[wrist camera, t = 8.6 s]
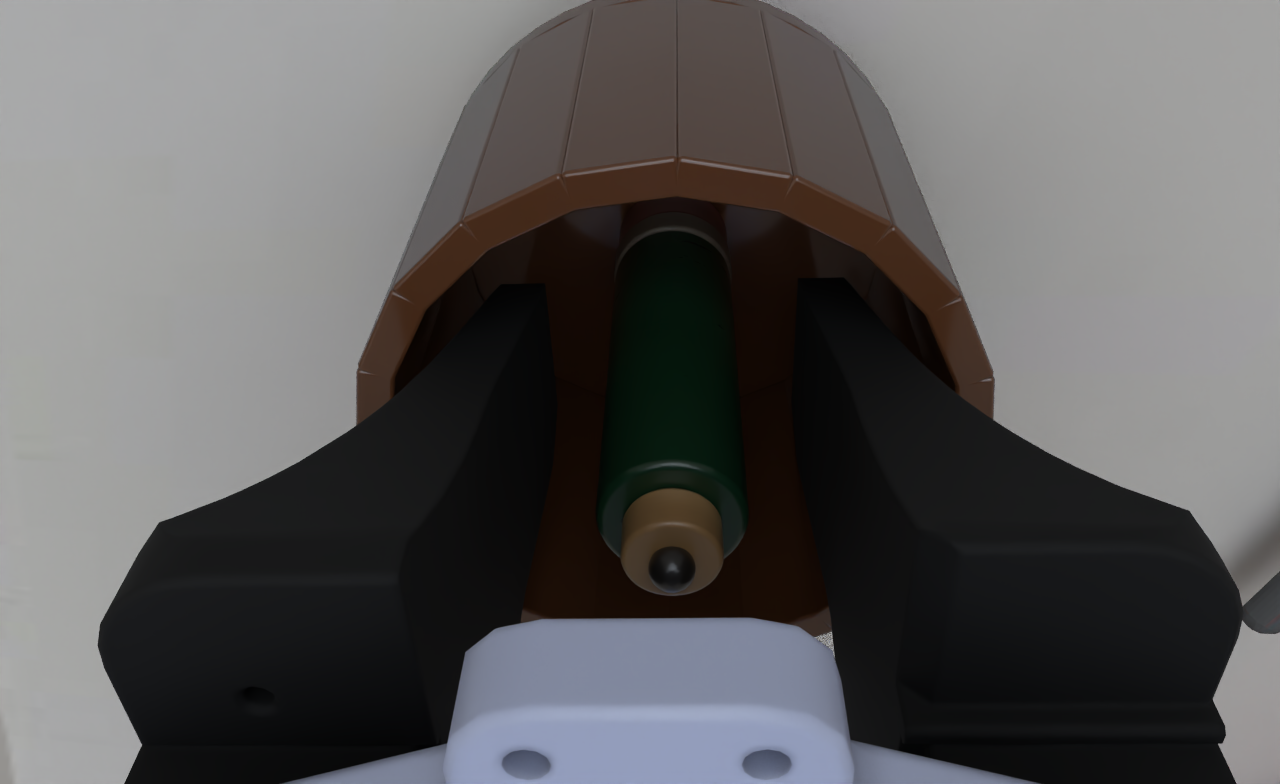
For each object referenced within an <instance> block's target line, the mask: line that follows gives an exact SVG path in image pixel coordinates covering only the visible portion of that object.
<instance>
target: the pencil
mask: <svg viewBox="0 0 1280 784" xmlns="http://www.w3.org/2000/svg"><path fill="white" fill-rule="evenodd" d="M614 281H615V293H614V305H613V316H612V328H611V340H610V351H609V363H608V374H607V386H606V398H605V409H604V421H603V432H602V444H601V456H600V467H599V479H598V491H597V502H596V522H597V527H598V529H599V532H600V534H601V536H602V538H603V539H604V541H605V543H606V544H607V546H608V547H609V548H610V549H611V550H612V551H613V552H614V553H615V554H616V555H617V556H618V557H620V559H621V564H622V567H623V569H624V571H625V573H626V574H627V576H628V577H629V578H630V580H631V581H633V582H634V583H635V584H636V585H638V586H639V587H641V588H642V589H644V590H647V591H649V592H652V593H655V594H660V595H667V596H677V595H685V594H690V593H693V592H696V591H698V590H700V589H703V588H704V587H706V586H707V585H709V584H710V583H711V582H712V581H713V580H714V579H715V578H716V577H717V575H718V574H719V572H720V570H721V568H722V565H723V562H724V559H725V558H726V557H727V556H728V555H729V554H731V553H732V552H733V551H734V549H735V548H736V547H737V546H738V544H739V543H740V541H741V540H742V538H743V536H744V534H745V532H746V530H747V526H748V521H749V508H748V495H747V483H746V470H745V458H744V445H743V433H742V420H741V407H740V395H739V382H738V370H737V357H736V345H735V332H734V320H733V307H732V295H731V282H732V269H731V257H730V252H729V249H728V244H727V232H726V227H725V224H724V221H723V219H722V217H721V215H720V213H719V212H718V211H717V210H716V208H715V207H714V206H713V205H712V204H711V203H709V202H707V201H700V200H694V199H687V198H681V197H672V198H664V199H657V200H649V201H642V202H637V203H636V204H635V205H634V206H633V207H632V208H631V209H630V210H629V211H628V213H627V214H626V216H625V218H624V220H623V222H622V225H621V228H620V235H619V247H618V250H617V253H616V259H615V270H614Z"/></svg>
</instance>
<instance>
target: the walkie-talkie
mask: <svg viewBox="0 0 1280 784" xmlns="http://www.w3.org/2000/svg"><path fill="white" fill-rule="evenodd" d="M1242 608H1243V618H1242V620H1243V621H1244V623H1245V624H1246V625H1247V626H1248V627H1249V628H1251V629H1252V630H1254V631H1256V632H1259V633H1264V634H1276V633H1279V632H1280V572H1279V573H1278V574H1277V575H1275V576H1274V577H1273V578H1272V579H1271V580H1270V581H1269V582H1268V583H1267V584H1266V585H1265V586H1264V587H1263V588H1262V589H1261V590H1260V591H1259V592H1257V593H1256V594H1255V595H1254V596H1253V597H1252V598H1251V599H1250V600H1249V601H1248V602H1247V603H1246V604H1245V605H1244V606H1243V607H1242Z"/></svg>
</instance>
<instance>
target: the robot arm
mask: <svg viewBox="0 0 1280 784" xmlns="http://www.w3.org/2000/svg"><path fill="white" fill-rule="evenodd" d="M557 407H558V403H557V394H556V384H555V374H554V364H553V355H552V345H551V335H550V326H549V316H548V306H547V297H546V287H545V283H539V284H501V285H500V286H499V287H498V288H497V289H496V290H495V291H494V292H493V293H492V294H491V295H490V296H489V297H488V298H487V300H486V301H485V302H484V303H483V304H482V305H481V307H480V308H479V309H478V310H477V311H476V313H475V314H474V315H473V316H472V317H471V318H470V320H469V321H468V322H467V323H466V324H465V325H464V326H463V328H462V329H461V330H460V331H459V332H458V333H457V334H456V335H455V337H454V338H453V339H452V340H451V341H450V342H449V343H448V344H447V345H446V346H445V347H444V348H443V349H442V351H441V352H440V353H439V354H438V355H437V356H436V357H435V358H434V359H433V360H432V361H431V362H430V363H429V364H428V365H427V366H426V367H425V368H424V369H423V370H422V371H421V372H420V373H419V374H418V375H417V376H416V377H415V378H414V379H413V380H412V381H410V382H409V383H408V384H407V385H406V386H405V387H404V388H403V389H402V390H401V391H400V392H399V393H397V394H396V395H395V396H394V397H393V398H392V399H390V400H389V401H388V402H387V403H385V404H384V405H383V406H382V407H381V408H379V409H378V410H377V411H375V412H374V413H373V414H371V415H370V416H369V417H367V418H366V419H365V420H363V421H362V422H361V423H359V424H358V425H357V426H355V427H354V428H352V429H351V430H349V431H348V432H347V433H345V434H343V435H342V436H340V437H339V438H337V439H335V440H334V441H332V442H330V443H329V444H327V445H326V446H324V447H322V448H321V449H319V450H318V451H316V452H314V453H313V454H311V455H309V456H308V457H306V458H305V459H303V460H301V461H300V462H298V463H296V464H294V465H292V466H290V467H289V468H287V469H285V470H283V471H281V472H279V473H277V474H275V475H273V476H271V477H269V478H267V479H265V480H263V481H261V482H259V483H257V484H255V485H252V486H250V487H248V488H246V489H244V490H242V491H240V492H237V493H235V494H233V495H230V496H228V497H226V498H223V499H221V500H218V501H216V502H213V503H210V504H208V505H205V506H202V507H200V508H197V509H195V510H192V511H189V512H187V513H184V514H182V515H179V516H176V517H174V518H171V519H168V520H165V521H162V522H159V524H158V525H157V527H156V528H155V530H154V531H153V533H152V534H151V536H150V537H149V539H148V540H147V542H146V543H145V545H144V546H143V548H142V549H141V551H140V552H139V554H138V556H137V558H136V559H135V561H134V563H133V565H132V567H131V568H130V570H129V572H128V574H127V576H126V578H125V579H124V581H123V583H122V585H121V587H120V589H119V590H118V592H117V594H116V596H115V598H114V600H113V601H112V603H111V605H110V607H109V609H108V611H107V612H106V614H105V616H104V618H103V620H102V622H101V623H100V631H99V639H98V648H99V652H100V655H101V658H102V662H103V665H104V668H105V670H106V672H107V674H108V677H109V679H110V681H111V683H112V685H113V687H114V689H115V691H116V693H117V695H118V697H119V699H120V701H121V703H122V705H123V707H124V709H125V711H126V713H127V715H128V717H129V719H130V721H131V723H132V725H133V727H134V729H135V731H136V733H137V735H138V737H139V739H140V741H141V743H142V747H141V749H140V751H139V753H138V755H137V757H136V760H135V762H134V764H133V766H132V768H131V770H130V773H129V775H128V777H127V779H126V781H125V783H124V784H1236V782H1235V780H1234V777H1233V775H1232V773H1231V771H1230V769H1229V767H1228V765H1227V763H1226V760H1225V758H1224V756H1223V754H1222V752H1221V750H1220V748H1219V745H1218V743H1223V741H1224V738H1225V736H1226V732H1225V725H1224V723H1223V721H1222V719H1221V717H1220V715H1219V713H1218V711H1217V708H1216V706H1215V704H1214V702H1213V700H1212V699H1213V697H1214V694H1215V692H1216V689H1217V687H1218V684H1219V682H1220V680H1221V677H1222V675H1223V672H1224V670H1225V668H1226V665H1227V663H1228V660H1229V658H1230V656H1231V653H1232V651H1233V648H1234V646H1235V644H1236V641H1237V639H1238V636H1239V632H1240V627H1241V622H1242V618H1243V608H1242V603H1241V598H1240V593H1239V590H1238V588H1237V586H1236V584H1235V582H1234V581H1233V579H1232V577H1231V575H1230V573H1229V572H1228V570H1227V568H1226V566H1225V564H1224V562H1223V561H1222V559H1221V557H1220V556H1219V554H1218V552H1217V551H1216V549H1215V547H1214V546H1213V544H1212V542H1211V541H1210V540H1209V538H1208V537H1207V535H1206V534H1205V533H1204V531H1203V530H1202V528H1201V527H1200V526H1199V524H1198V523H1197V522H1196V520H1195V519H1194V517H1193V516H1192V514H1191V513H1190V511H1188V510H1185V509H1182V508H1179V507H1176V506H1174V505H1171V504H1168V503H1165V502H1162V501H1159V500H1157V499H1154V498H1151V497H1148V496H1145V495H1142V494H1140V493H1137V492H1134V491H1131V490H1128V489H1126V488H1123V487H1120V486H1118V485H1115V484H1113V483H1111V482H1108V481H1106V480H1104V479H1102V478H1099V477H1097V476H1095V475H1093V474H1090V473H1088V472H1086V471H1084V470H1081V469H1079V468H1077V467H1075V466H1073V465H1071V464H1069V463H1067V462H1065V461H1063V460H1061V459H1059V458H1057V457H1055V456H1053V455H1051V454H1049V453H1047V452H1045V451H1044V450H1042V449H1040V448H1038V447H1037V446H1035V445H1033V444H1031V443H1030V442H1028V441H1026V440H1024V439H1023V438H1021V437H1019V436H1017V435H1016V434H1014V433H1013V432H1011V431H1009V430H1008V429H1006V428H1005V427H1003V426H1001V425H1000V424H998V423H997V422H995V421H994V420H992V419H991V418H990V417H988V416H987V415H985V414H984V413H983V412H981V411H980V410H978V409H977V408H976V407H974V406H973V405H971V404H970V403H969V402H967V401H966V400H964V399H963V398H962V397H961V396H959V395H958V394H957V393H956V392H954V391H953V390H952V389H951V388H949V387H948V386H947V385H946V384H945V383H944V382H942V381H941V380H940V379H939V378H938V377H937V376H936V375H934V374H933V373H932V372H931V371H930V370H929V369H928V368H926V367H925V366H924V365H923V364H922V363H921V362H920V361H919V360H918V359H917V358H916V357H915V356H914V355H913V354H912V353H911V352H910V351H909V350H908V349H907V348H906V347H905V346H904V344H903V343H902V342H901V341H900V340H899V339H898V338H897V337H896V336H895V335H894V334H893V333H892V332H891V331H890V330H889V329H888V327H887V326H886V325H885V324H884V323H883V322H882V321H881V320H880V318H879V317H878V316H877V315H876V314H875V313H874V312H873V310H872V309H871V308H870V307H869V306H868V304H867V303H866V302H865V301H864V300H863V298H862V297H861V296H860V295H859V294H858V292H857V291H856V290H855V289H854V288H853V286H852V285H851V284H850V283H849V282H848V281H847V280H846V279H845V278H844V277H838V278H798V288H797V307H796V326H795V345H794V364H793V383H792V413H793V425H794V436H795V447H796V457H797V464H798V469H799V473H800V478H801V483H802V487H803V491H804V496H805V500H806V505H807V509H808V514H809V518H810V522H811V527H812V531H813V536H814V540H815V544H816V549H817V553H818V557H819V562H820V566H821V570H822V575H823V579H824V584H825V588H826V594H827V599H828V605H829V611H830V617H831V625H832V634H833V643H834V652H835V658H834V655H833V652H832V650H831V649H830V648H828V647H827V646H826V645H824V644H823V643H821V642H820V641H818V640H817V639H816V638H814V637H813V636H811V635H810V634H809V633H807V632H806V631H804V630H803V629H801V628H800V627H798V626H794V625H790V624H784V623H778V622H773V621H767V620H761V619H756V618H605V619H540V620H535V621H530V622H525V623H521V615H522V610H523V604H524V598H525V592H526V587H527V582H528V578H529V573H530V569H531V564H532V560H533V555H534V550H535V546H536V541H537V537H538V532H539V528H540V523H541V519H542V514H543V510H544V505H545V500H546V496H547V491H548V486H549V482H550V477H551V472H552V467H553V459H554V447H555V435H556V421H557ZM835 661H836V662H835Z"/></svg>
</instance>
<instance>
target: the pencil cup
mask: <svg viewBox="0 0 1280 784" xmlns="http://www.w3.org/2000/svg"><path fill="white" fill-rule="evenodd" d="M672 197H681V198H687V199H694V200H700V201H707V202H709V203H711V204H712V205H713V206H714V207H715V208H716V210H717V211H718V212H719V213H720V215H721V217H722V219H723V221H724V224H725V227H726V232H727V244H728V249H729V252H730V257H731V269H732V282H731V295H732V307H733V320H734V332H735V345H736V357H737V370H738V382H739V395H740V407H741V420H742V433H743V445H744V458H745V470H746V483H747V495H748V508H749V521H748V526H747V530H746V532H745V534H744V536H743V538H742V540H741V541H740V543H739V544H738V546H737V547H736V548H735V549H734V551H733V552H732V553H731V554H729V555H728V556H727V557H726V558H725V559H724V562H723V565H722V568H721V570H720V572H719V574H718V575H717V577H716V578H715V579H714V580H713V581H712V582H711V583H710V584H709V585H707V586H706V587H704V588H703V589H700V590H698V591H696V592H693V593H690V594H685V595H677V596H667V595H660V594H655V593H652V592H649V591H647V590H644V589H642V588H641V587H639V586H638V585H636V584H635V583H634V582H633V581H631V580H630V578H629V577H628V576H627V574H626V573H625V571H624V569H623V567H622V564H621V559H620V557H618V556H617V555H616V554H615V553H614V552H613V551H612V550H611V549H610V548H609V547H608V546H607V544H606V543H605V541H604V539H603V538H602V536H601V534H600V532H599V529H598V527H597V522H596V502H597V491H598V479H599V467H600V456H601V444H602V432H603V421H604V409H605V398H606V386H607V374H608V363H609V351H610V340H611V328H612V316H613V305H614V293H615V281H614V270H615V259H616V253H617V250H618V247H619V235H620V228H621V225H622V222H623V220H624V218H625V216H626V214H627V213H628V211H629V210H630V209H631V208H632V207H633V206H634V205H635V204H636V203H637V202H642V201H649V200H657V199H664V198H672ZM838 277H844V278H845V279H846V280H847V281H848V282H849V283H850V284H851V285H852V286H853V288H854V289H855V290H856V291H857V292H858V294H859V295H860V296H861V297H862V298H863V300H864V301H865V302H866V303H867V304H868V306H869V307H870V308H871V309H872V310H873V312H874V313H875V314H876V315H877V316H878V317H879V318H880V320H881V321H882V322H883V323H884V324H885V325H886V326H887V327H888V329H889V330H890V331H891V332H892V333H893V334H894V335H895V336H896V337H897V338H898V339H899V340H900V341H901V342H902V343H903V344H904V346H905V347H906V348H907V349H908V350H909V351H910V352H911V353H912V354H913V355H914V356H915V357H916V358H917V359H918V360H919V361H920V362H921V363H922V364H923V365H924V366H925V367H926V368H928V369H929V370H930V371H931V372H932V373H933V374H934V375H936V376H937V377H938V378H939V379H940V380H941V381H942V382H944V383H945V384H946V385H947V386H948V387H949V388H951V389H952V390H953V391H954V392H956V393H957V394H958V395H959V396H961V397H962V398H963V399H964V400H966V401H967V402H969V403H970V404H971V405H973V406H974V407H976V408H977V409H978V410H980V411H981V412H983V413H984V414H985V415H987V416H988V417H990V418H991V419H992V420H993V417H994V387H995V379H994V376H993V369H992V367H991V364H990V362H989V359H988V357H987V354H986V352H985V349H984V346H983V344H982V341H981V339H980V336H979V334H978V331H977V329H976V326H975V324H974V321H973V319H972V316H971V314H970V311H969V309H968V306H967V304H966V301H965V299H964V296H963V294H962V291H961V289H960V286H959V284H958V281H957V279H956V276H955V274H954V271H953V269H952V267H951V264H950V262H949V259H948V257H947V254H946V252H945V249H944V247H943V244H942V242H941V240H940V237H939V235H938V232H937V230H936V227H935V225H934V222H933V220H932V217H931V215H930V213H929V210H928V208H927V205H926V203H925V200H924V198H923V195H922V193H921V190H920V188H919V186H918V183H917V181H916V178H915V176H914V173H913V171H912V168H911V166H910V163H909V161H908V158H907V156H906V154H905V151H904V149H903V146H902V144H901V141H900V139H899V136H898V134H897V131H896V129H895V127H894V124H893V122H892V119H891V117H890V114H889V112H888V109H887V108H886V107H885V105H884V103H883V102H882V100H881V99H880V97H879V96H878V94H877V93H876V91H875V89H874V88H873V86H872V85H871V83H870V82H869V80H868V79H867V77H866V76H865V75H864V74H863V73H862V71H861V70H860V69H859V68H858V67H857V66H856V65H855V63H854V62H853V61H852V60H851V59H850V58H849V57H848V55H847V54H846V53H844V52H843V51H842V50H841V49H840V48H839V47H837V46H836V45H835V44H834V43H833V42H831V41H830V40H829V39H828V38H827V37H826V36H824V35H823V34H822V33H821V32H819V31H817V30H816V29H814V28H813V27H811V26H810V25H808V24H806V23H805V22H803V21H802V20H800V19H798V18H797V17H795V16H794V15H791V14H789V13H787V12H785V11H782V10H780V9H778V8H776V7H774V6H771V5H769V4H767V3H765V2H762V1H759V0H592V1H590V2H587V3H585V4H582V5H580V6H578V7H575V8H573V9H570V10H568V11H565V12H563V13H562V14H560V15H558V16H556V17H555V18H553V19H551V20H549V21H548V22H546V23H544V24H543V25H541V26H539V27H537V28H536V29H534V30H533V31H532V32H531V33H529V34H528V35H527V36H525V37H524V38H523V39H522V40H520V41H519V42H518V43H517V44H515V45H514V46H513V47H511V48H510V49H509V50H508V51H507V52H506V53H505V54H504V56H503V57H502V58H501V59H500V60H499V61H498V62H497V63H496V64H495V65H494V66H493V67H492V68H491V69H490V70H489V71H488V73H487V74H486V75H485V77H484V78H483V80H482V81H481V82H480V84H479V85H478V87H477V88H476V89H475V91H474V92H473V93H472V95H471V97H470V99H469V100H468V102H467V104H466V105H465V106H464V109H463V111H462V113H461V116H460V118H459V120H458V122H457V124H456V127H455V129H454V132H453V134H452V136H451V139H450V141H449V143H448V146H447V148H446V150H445V153H444V155H443V157H442V160H441V162H440V164H439V167H438V169H437V172H436V174H435V177H434V179H433V182H432V184H431V186H430V189H429V191H428V194H427V196H426V199H425V201H424V204H423V206H422V208H421V211H420V213H419V216H418V218H417V221H416V223H415V226H414V228H413V230H412V233H411V235H410V238H409V240H408V243H407V245H406V248H405V250H404V252H403V255H402V257H401V260H400V262H399V265H398V267H397V270H396V272H395V275H394V277H393V279H392V282H391V284H390V287H389V289H388V292H387V294H386V297H385V299H384V301H383V304H382V306H381V309H380V311H379V314H378V316H377V319H376V321H375V323H374V326H373V328H372V331H371V333H370V336H369V338H368V341H367V343H366V345H365V348H364V350H363V353H362V355H361V358H360V360H359V363H358V369H357V371H356V426H357V425H358V424H359V423H361V422H362V421H363V420H365V419H366V418H367V417H369V416H370V415H371V414H373V413H374V412H375V411H377V410H378V409H379V408H381V407H382V406H383V405H384V404H385V403H387V402H388V401H389V400H390V399H392V398H393V397H394V396H395V395H396V394H397V393H399V392H400V391H401V390H402V389H403V388H404V387H405V386H406V385H407V384H408V383H409V382H410V381H412V380H413V379H414V378H415V377H416V376H417V375H418V374H419V373H420V372H421V371H422V370H423V369H424V368H425V367H426V366H427V365H428V364H429V363H430V362H431V361H432V360H433V359H434V358H435V357H436V356H437V355H438V354H439V353H440V352H441V351H442V349H443V348H444V347H445V346H446V345H447V344H448V343H449V342H450V341H451V340H452V339H453V338H454V337H455V335H456V334H457V333H458V332H459V331H460V330H461V329H462V328H463V326H464V325H465V324H466V323H467V322H468V321H469V320H470V318H471V317H472V316H473V315H474V314H475V313H476V311H477V310H478V309H479V308H480V307H481V305H482V304H483V303H484V302H485V301H486V300H487V298H488V297H489V296H490V295H491V294H492V293H493V292H494V291H495V290H496V289H497V288H498V287H499V286H500V285H501V284H539V283H545V287H546V297H547V306H548V316H549V326H550V335H551V345H552V355H553V364H554V374H555V384H556V394H557V403H558V407H557V421H556V435H555V447H554V459H553V467H552V472H551V477H550V482H549V486H548V491H547V496H546V500H545V505H544V510H543V514H542V519H541V523H540V528H539V532H538V537H537V541H536V546H535V550H534V555H533V560H532V564H531V569H530V573H529V578H528V582H527V587H526V592H525V598H524V604H523V610H522V615H521V623H525V622H530V621H535V620H540V619H605V618H756V619H761V620H767V621H773V622H778V623H784V624H790V625H794V626H798V627H800V628H801V629H803V630H804V631H806V632H807V633H809V634H810V635H811V636H813V637H817V636H820V635H823V634H827V633H830V632H831V631H832V625H831V617H830V611H829V605H828V599H827V594H826V588H825V584H824V579H823V575H822V570H821V566H820V562H819V557H818V553H817V549H816V544H815V540H814V536H813V531H812V527H811V522H810V518H809V514H808V509H807V505H806V500H805V496H804V491H803V487H802V483H801V478H800V473H799V469H798V464H797V457H796V447H795V436H794V425H793V413H792V383H793V364H794V345H795V326H796V307H797V288H798V278H838Z"/></svg>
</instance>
